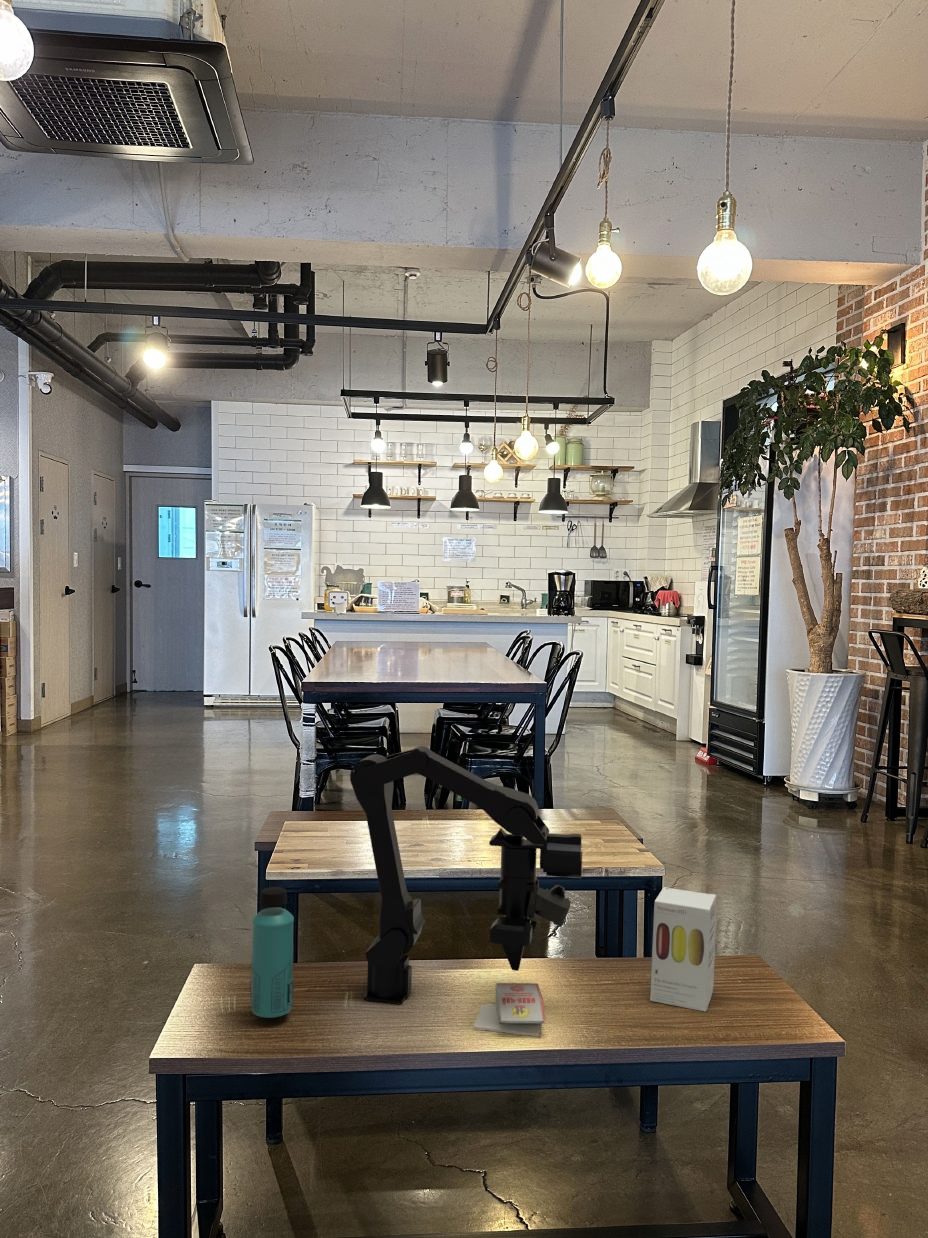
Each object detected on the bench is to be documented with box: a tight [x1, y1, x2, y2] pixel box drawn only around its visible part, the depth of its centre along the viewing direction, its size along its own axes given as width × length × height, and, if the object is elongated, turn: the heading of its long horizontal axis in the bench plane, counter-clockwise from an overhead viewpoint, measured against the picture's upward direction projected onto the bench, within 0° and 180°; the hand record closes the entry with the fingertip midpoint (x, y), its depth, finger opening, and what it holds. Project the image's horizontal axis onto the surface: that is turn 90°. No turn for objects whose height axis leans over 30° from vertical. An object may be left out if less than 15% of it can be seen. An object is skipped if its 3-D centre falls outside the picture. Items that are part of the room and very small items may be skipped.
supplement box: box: [649, 886, 718, 1012], centre depth 154 cm, size 10×9×17 cm
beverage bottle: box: [249, 886, 295, 1018], centre depth 141 cm, size 6×7×20 cm
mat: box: [472, 1003, 545, 1037], centre depth 142 cm, size 10×8×1 cm
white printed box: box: [495, 982, 547, 1024], centre depth 142 cm, size 4×7×10 cm
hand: (515, 969), depth 148 cm, fingers closed
